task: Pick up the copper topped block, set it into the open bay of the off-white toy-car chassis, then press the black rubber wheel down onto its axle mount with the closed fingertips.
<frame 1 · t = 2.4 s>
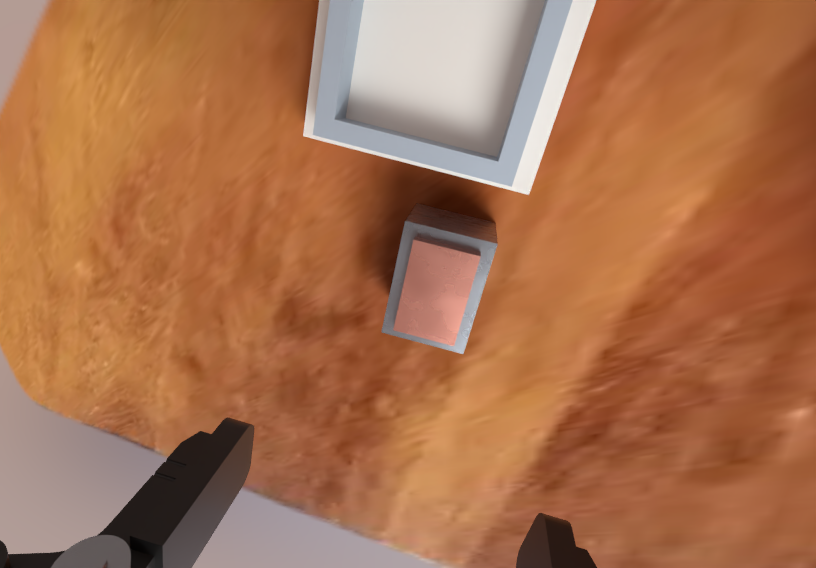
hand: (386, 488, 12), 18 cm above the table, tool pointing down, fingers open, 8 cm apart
copper topped block: (442, 263, 28), on the table
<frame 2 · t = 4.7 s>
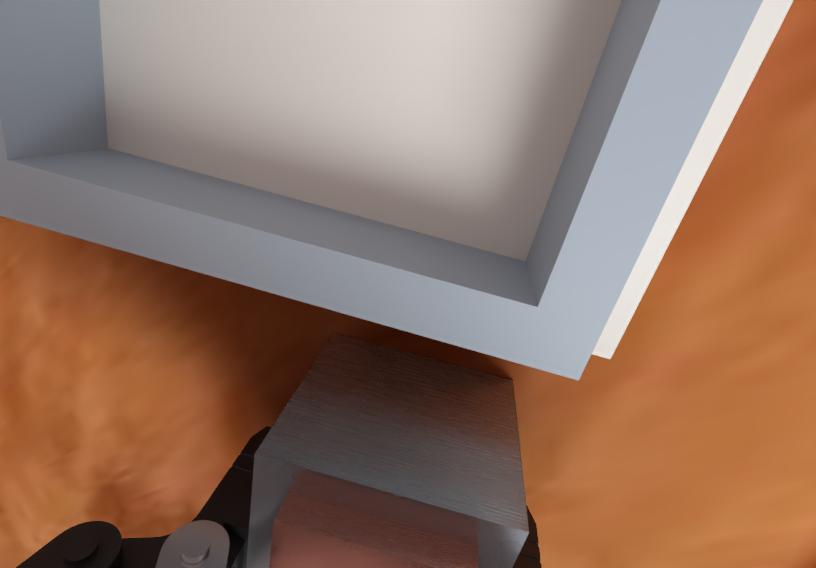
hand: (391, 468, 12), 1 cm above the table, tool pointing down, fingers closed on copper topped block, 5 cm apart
copper topped block: (397, 450, 13), on the table, touching gripper
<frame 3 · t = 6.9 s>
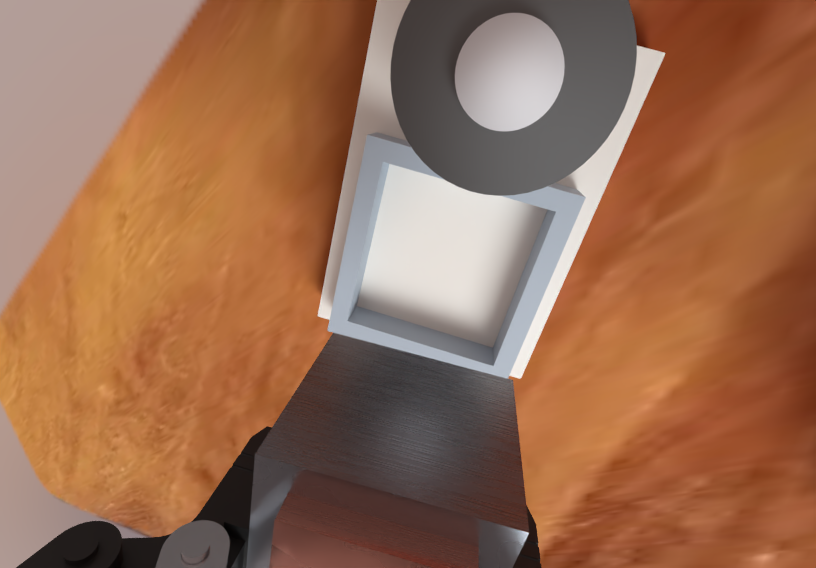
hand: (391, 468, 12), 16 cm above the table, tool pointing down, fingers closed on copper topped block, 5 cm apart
chassis: (462, 199, 25), on the table
wheel: (504, 80, 15), point 8 cm above the table, slide at 3.0 cm
copper topped block: (397, 450, 13), point 15 cm above the table, touching gripper
when the fingers open (4 cm above the table, at t = 9.6 s): copper topped block drops 1 cm, resting on chassis.
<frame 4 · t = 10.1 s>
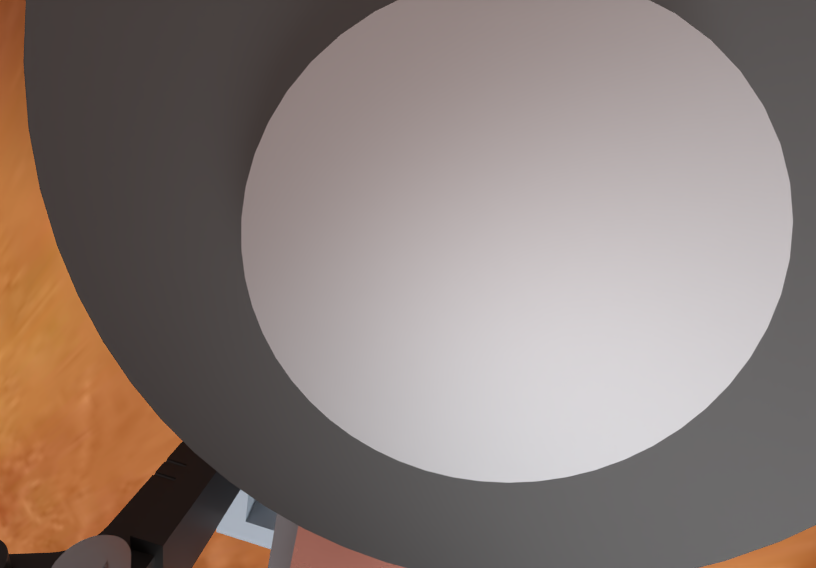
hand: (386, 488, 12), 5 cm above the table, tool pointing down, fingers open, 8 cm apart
chassis: (432, 314, 15), on the table
wheel: (485, 190, 5), point 8 cm above the table, slide at 3.0 cm
copper topped block: (406, 418, 14), point 2 cm above the table, touching chassis
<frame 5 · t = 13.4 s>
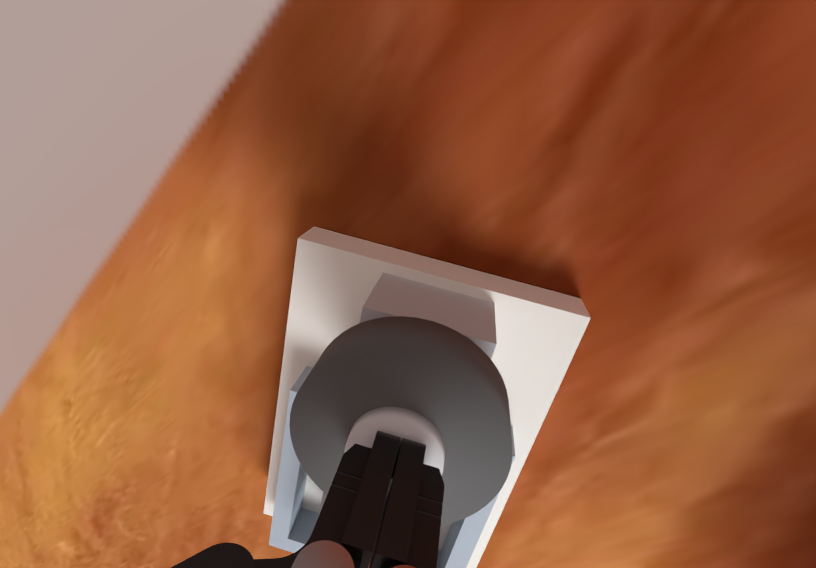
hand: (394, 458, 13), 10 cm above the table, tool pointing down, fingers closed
chassis: (403, 408, 24), on the table
wheel: (408, 399, 16), point 7 cm above the table, slide at 1.5 cm, touching gripper
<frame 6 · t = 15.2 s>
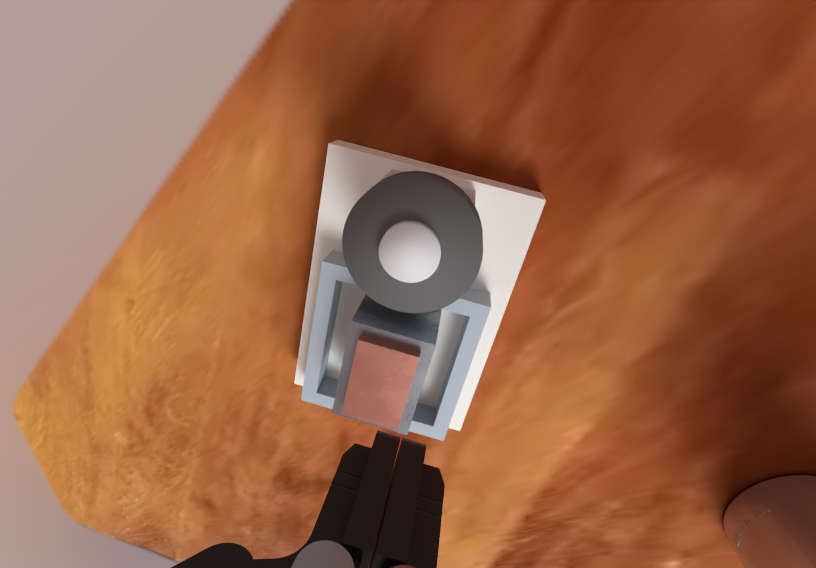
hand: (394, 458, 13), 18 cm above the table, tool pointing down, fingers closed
chassis: (406, 292, 31), on the table
wheel: (417, 236, 23), point 5 cm above the table, slide at 0.0 cm, touching chassis
copper topped block: (393, 341, 30), point 2 cm above the table, touching chassis
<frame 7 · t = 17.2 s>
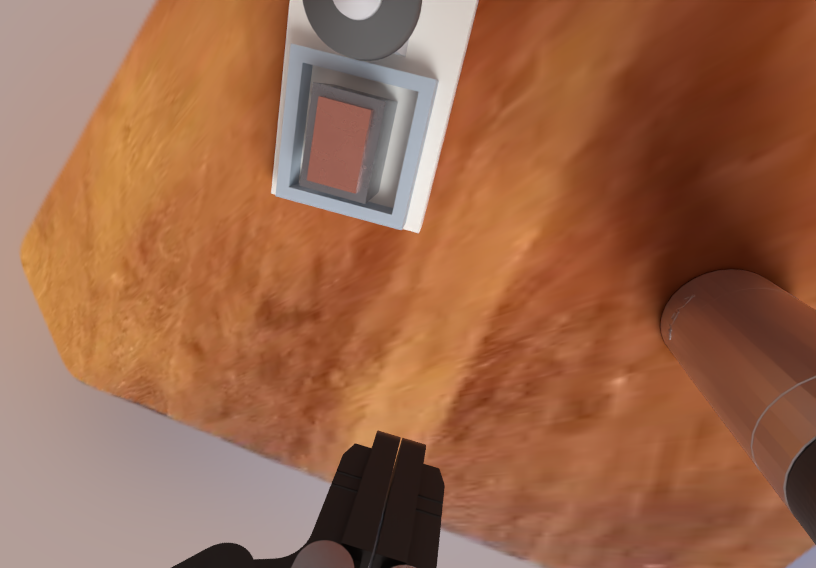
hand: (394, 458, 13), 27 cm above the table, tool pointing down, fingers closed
chassis: (369, 99, 35), on the table
copper topped block: (357, 140, 34), point 2 cm above the table, touching chassis
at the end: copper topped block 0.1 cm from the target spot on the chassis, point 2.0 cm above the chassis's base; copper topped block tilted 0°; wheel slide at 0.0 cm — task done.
